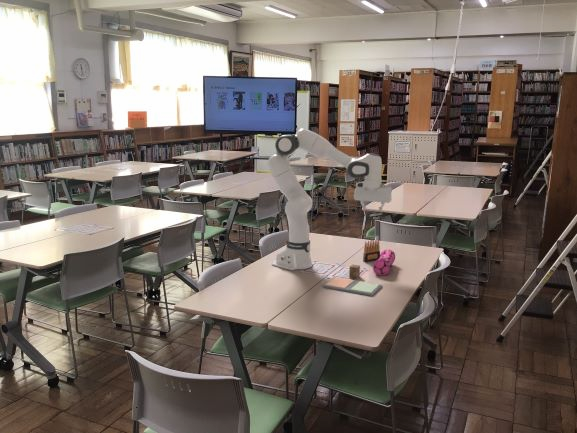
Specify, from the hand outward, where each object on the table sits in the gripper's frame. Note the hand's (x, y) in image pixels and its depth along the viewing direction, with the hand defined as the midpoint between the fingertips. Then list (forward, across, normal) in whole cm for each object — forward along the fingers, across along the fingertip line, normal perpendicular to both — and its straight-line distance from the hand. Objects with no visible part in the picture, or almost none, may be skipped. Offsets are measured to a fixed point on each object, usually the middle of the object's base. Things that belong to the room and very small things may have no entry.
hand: (372, 209), depth 261 cm
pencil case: (+32, -10, +5) cm, 33 cm away
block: (+31, 0, +23) cm, 39 cm away
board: (+31, -4, +37) cm, 49 cm away
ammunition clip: (+31, +2, -8) cm, 32 cm away
